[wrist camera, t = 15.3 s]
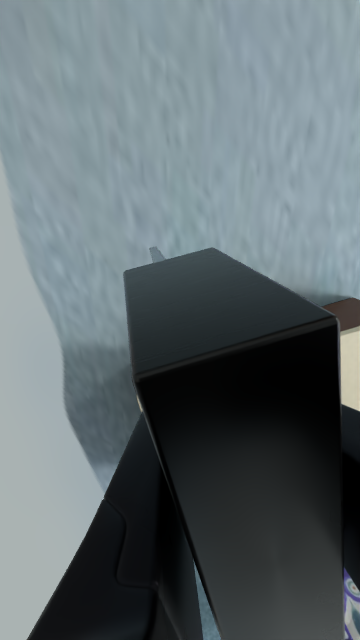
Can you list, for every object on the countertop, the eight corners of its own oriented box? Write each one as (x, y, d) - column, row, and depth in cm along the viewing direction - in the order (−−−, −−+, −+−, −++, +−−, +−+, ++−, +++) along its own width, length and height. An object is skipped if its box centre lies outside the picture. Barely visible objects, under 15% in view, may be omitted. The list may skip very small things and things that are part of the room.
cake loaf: (353, 296, 24) (402, 317, 20) (353, 401, 28) (394, 436, 24) (242, 329, 23) (270, 357, 19) (258, 431, 27) (284, 473, 23)
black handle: (178, 227, 13) (343, 315, 3) (213, 387, 16) (347, 654, 7) (120, 242, 12) (130, 378, 3) (167, 401, 16) (239, 696, 6)
